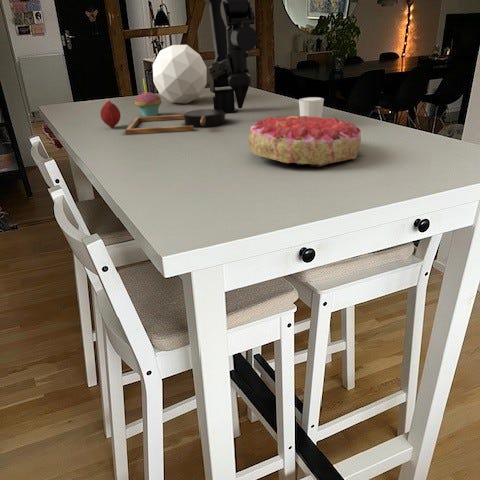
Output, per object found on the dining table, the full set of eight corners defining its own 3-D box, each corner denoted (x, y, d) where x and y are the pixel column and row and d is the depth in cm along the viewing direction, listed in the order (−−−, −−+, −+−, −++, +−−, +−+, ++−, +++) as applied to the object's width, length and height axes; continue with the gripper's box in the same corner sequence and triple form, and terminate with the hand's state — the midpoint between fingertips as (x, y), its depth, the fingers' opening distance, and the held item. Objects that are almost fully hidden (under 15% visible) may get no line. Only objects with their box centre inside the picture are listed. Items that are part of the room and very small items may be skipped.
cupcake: (160, 117, 166) (155, 76, 160) (134, 118, 167) (128, 78, 161) (164, 112, 174) (159, 73, 167) (139, 114, 174) (133, 74, 168)
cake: (231, 162, 110) (232, 122, 106) (267, 140, 131) (268, 107, 127) (347, 175, 103) (352, 133, 99) (365, 150, 124) (371, 115, 120)
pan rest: (196, 117, 163) (196, 113, 162) (193, 130, 146) (192, 126, 146) (136, 121, 163) (135, 117, 163) (125, 134, 147) (125, 129, 146)
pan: (225, 118, 160) (224, 107, 158) (224, 131, 143) (224, 119, 141) (186, 120, 160) (185, 109, 158) (181, 134, 143) (180, 121, 141)
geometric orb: (195, 122, 192) (206, 78, 174) (143, 104, 189) (148, 58, 171) (206, 88, 200) (217, 43, 183) (155, 71, 197) (162, 23, 180)
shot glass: (307, 129, 140) (307, 101, 137) (293, 125, 146) (293, 98, 142) (328, 125, 143) (329, 98, 139) (313, 122, 148) (314, 95, 144)
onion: (126, 127, 156) (121, 98, 152) (110, 130, 152) (105, 101, 148) (115, 125, 159) (110, 97, 155) (99, 128, 156) (94, 100, 152)
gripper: (209, 48, 153) (213, 104, 161) (207, 53, 137) (212, 115, 145) (247, 45, 153) (249, 102, 161) (249, 50, 137) (251, 113, 145)
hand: (240, 108), depth 153 cm, fingers closed
